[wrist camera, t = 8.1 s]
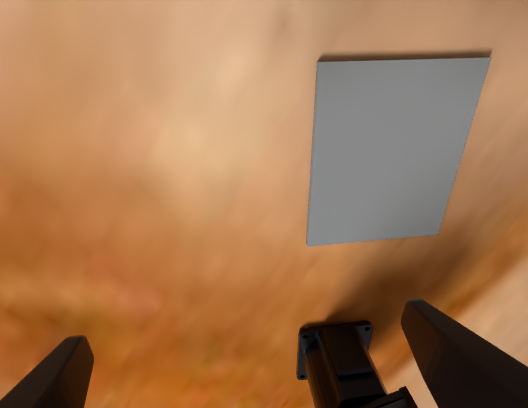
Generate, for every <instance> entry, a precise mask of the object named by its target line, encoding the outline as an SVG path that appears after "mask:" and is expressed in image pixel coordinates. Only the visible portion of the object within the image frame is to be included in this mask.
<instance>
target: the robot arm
mask: <svg viewBox="0 0 528 408" xmlns="http://www.w3.org/2000/svg"><path fill="white" fill-rule="evenodd" d="M401 325H402V329H403V331H404V334H405V336H406V338H407V341H408V343H409V346H410V348H411V350H412V353H413V355H414V358H415V360H416V363H417V365H418V367H419V370H420V372H421V374H422V377H423V379H424V381H425V383H426V385H427V387H428V389H429V391H430V393H431V394H432V396H433V398H434V400H435V402H436V404H437V406H438V408H528V367H527V366H526V365H524V364H522V363H521V362H519V361H518V360H516V359H515V358H513V357H511V356H510V355H508V354H507V353H505V352H504V351H502V350H501V349H499V348H497V347H496V346H494V345H493V344H491V343H490V342H488V341H486V340H485V339H483V338H482V337H480V336H479V335H477V334H476V333H474V332H472V331H471V330H469V329H468V328H466V327H465V326H463V325H461V324H460V323H458V322H457V321H455V320H454V319H452V318H451V317H449V316H447V315H446V314H444V313H443V312H441V311H440V310H438V309H436V308H435V307H433V306H432V305H430V304H429V303H427V302H426V301H424V300H422V299H414V300H408V301H407V302H406V304H405V307H404V311H403V314H402V318H401ZM372 330H373V326H372V324H371V323H370V322H369V321H364V322H356V323H348V324H339V325H331V326H323V327H314V328H306V329H302V330H300V331H299V334H298V352H297V370H296V374H297V378H298V379H299V380H306V379H308V382H309V386H310V390H311V394H312V397H313V401H314V405H315V408H418V407H417V405H416V403H415V402H414V400H413V398H412V396H411V395H410V393H409V391H408V389H407V388H406V386H404V387H402V388H399V390H398V391H396V392H393V393H390V394H388V393H387V390H386V388H385V386H384V384H383V382H382V380H381V378H380V376H379V374H378V372H377V369H376V367H375V365H374V363H373V361H372V359H371V357H370V355H369V353H368V349H369V344H370V340H371V335H372ZM93 363H94V356H93V353H92V350H91V348H90V345H89V343H88V340H87V338H86V337H85V336H84V335H78V336H70V337H67V338H66V339H64V340H63V341H62V342H61V343H60V344H59V345H58V346H57V347H56V348H55V349H54V350H53V351H52V352H51V353H50V354H48V355H47V356H46V357H45V358H44V359H43V360H42V361H41V362H40V363H39V364H38V365H37V366H36V367H35V368H34V369H33V370H32V371H31V372H30V373H28V374H27V375H26V376H25V377H24V378H23V379H22V380H21V381H20V382H19V383H18V384H17V385H16V386H15V387H14V388H13V389H12V390H11V391H10V392H8V393H7V394H6V395H5V396H4V397H3V398H2V399H1V400H0V408H84V405H85V401H86V396H87V391H88V387H89V382H90V378H91V373H92V368H93Z"/></svg>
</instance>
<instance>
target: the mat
mask: <svg viewBox="0 0 528 408" xmlns="http://www.w3.org/2000/svg"><path fill="white" fill-rule="evenodd" d="M490 60H491V58H490V57H474V58H436V59H399V60H361V61H323V62H317V71H316V88H315V104H314V121H313V137H312V154H311V171H310V187H309V204H308V221H307V237H306V244H307V246H319V245H329V244H340V243H351V242H362V241H373V240H384V239H395V238H406V237H417V236H428V235H438V234H439V231H440V227H441V224H442V221H443V217H444V214H445V211H446V207H447V204H448V201H449V197H450V194H451V191H452V187H453V184H454V181H455V177H456V174H457V171H458V167H459V164H460V161H461V157H462V154H463V150H464V147H465V144H466V140H467V137H468V134H469V130H470V127H471V124H472V120H473V117H474V114H475V110H476V107H477V104H478V100H479V97H480V94H481V90H482V87H483V84H484V80H485V77H486V74H487V70H488V67H489V64H490Z"/></svg>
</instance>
